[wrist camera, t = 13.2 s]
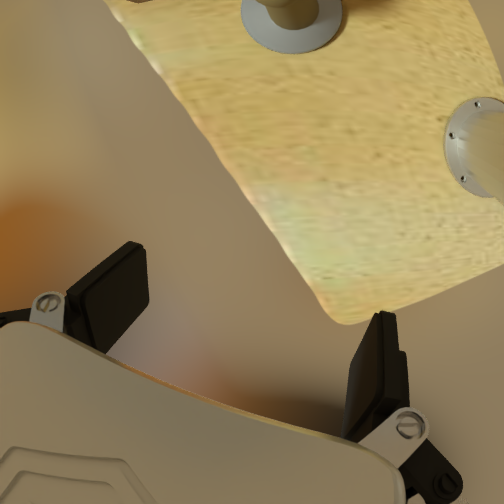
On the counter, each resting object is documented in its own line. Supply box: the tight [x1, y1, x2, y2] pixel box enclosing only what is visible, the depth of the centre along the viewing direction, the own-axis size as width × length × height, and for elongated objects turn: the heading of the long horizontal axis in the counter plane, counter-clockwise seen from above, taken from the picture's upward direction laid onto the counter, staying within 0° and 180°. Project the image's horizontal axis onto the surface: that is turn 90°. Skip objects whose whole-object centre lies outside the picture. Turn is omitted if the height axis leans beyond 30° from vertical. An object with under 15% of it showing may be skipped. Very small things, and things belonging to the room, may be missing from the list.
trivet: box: [241, 0, 342, 54], centre depth 29 cm, size 12×12×1 cm
